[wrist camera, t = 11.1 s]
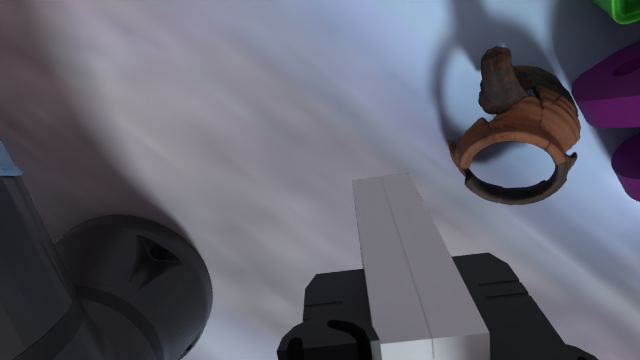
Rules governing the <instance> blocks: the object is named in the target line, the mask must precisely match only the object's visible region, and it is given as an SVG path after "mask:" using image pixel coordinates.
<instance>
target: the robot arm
mask: <svg viewBox="0 0 640 360" xmlns="http://www.w3.org/2000/svg"><path fill="white" fill-rule="evenodd" d="M22 175H23V173H22V170H21V168H20V167H18V166H15V164H14V162H13V161H12V159H11V157H10V156H9V154H8V152H7V150H6V149H5V147H4V145H3V143H2V142H1V140H0V360H180V359H182V358H183V357H184V356H185V355H186V354H187V353H188V352H189V351H190V350H191V349H192V348H193V347H194V346H195V344H196V343H197V341H198V340H199V338H200V337H201V335H202V333H203V331H204V328H205V326H206V323H207V321H208V318H209V315H210V312H211V308H212V300H213V293H212V285H211V280H210V277H209V274H208V271H207V269H206V267H205V265H204V263H203V261H202V260H201V258H200V257H199V255H198V254H197V253H196V251H195V250H194V249H193V248H192V247H191V246H190V245H189V244H188V243H187V242H186V241H185V240H184V239H183V238H182V237H180V236H179V235H178V234H176V233H175V232H173V231H172V230H170V229H168V228H166V227H165V226H163V225H160V224H158V223H156V222H153V221H150V220H147V219H144V218H140V217H134V216H126V215H112V216H104V217H99V218H95V219H92V220H89V221H86V222H84V223H82V224H80V225H78V226H77V227H75V228H73V229H72V230H71V231H69V232H68V233H67V234H66V235H65V236H64V237H63V238H61V239H60V240H59V241H58V242H57V243H56V244H55V245H54V244H53V242H52V240H51V238H50V236H49V234H48V232H47V230H46V227H45V225H44V223H43V221H42V219H41V217H40V215H39V213H38V211H37V209H36V207H35V205H34V203H33V201H32V199H31V197H30V195H29V193H28V191H27V188H26V186H25V184H24V182H23V180H22V178H21V176H22ZM352 185H353V193H354V201H355V209H356V217H357V225H358V233H359V241H360V249H361V257H362V265H363V269H357V270H349V271H340V272H331V273H323V274H316V275H315V277H314V278H313V279H312V281H311V282H310V283H309V285H308V286H307V287H306V289H305V299H304V311H303V323H301V324H299V325H297V326H295V327H293V328H292V329H291V330H290V331H289V332H288V333H287V334H286V335H285V336H284V337H283V338H282V340H281V342H280V345H279V347H278V349H277V355H278V360H598V359H597V358H596V357H595V356H593V355H591V354H589V353H587V352H585V351H583V350H581V349H579V348H577V347H575V346H571V345H567V344H565V343H564V342H563V340H562V339H561V338H560V336H559V335H558V333H557V332H556V331H555V329H554V328H553V326H552V325H551V324H550V322H549V321H548V319H547V318H546V317H545V315H544V314H543V312H542V311H541V310H540V308H539V307H538V305H537V304H536V303H535V301H534V300H533V298H532V297H531V296H529V294H528V291H527V290H526V289H525V287H524V286H523V284H522V283H520V282H519V279H518V277H517V276H516V275H515V273H514V272H513V270H512V269H511V268H510V266H509V265H508V264H507V263H505V262H504V261H502V260H500V259H499V258H497V257H495V256H494V255H492V254H490V253H481V254H472V255H463V256H454V257H451V255H450V253H449V251H448V249H447V247H446V246H445V244H444V242H443V240H442V238H441V236H440V234H439V232H438V230H437V228H436V226H435V224H434V222H433V220H432V218H431V216H430V214H429V212H428V210H427V208H426V206H425V204H424V202H423V200H422V198H421V196H420V194H419V192H418V190H417V188H416V186H415V184H414V182H413V180H412V178H411V176H410V174H409V173H406V174H398V175H390V176H382V177H374V178H366V179H358V180H352Z"/></svg>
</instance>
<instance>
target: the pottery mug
mask: <svg viewBox="0 0 640 360" xmlns="http://www.w3.org/2000/svg"><path fill="white" fill-rule="evenodd" d="M511 60H512V58H511V53H510V50H509V49H508V48H502V47H494V48H492V49H489V50H487V51H486V53H485V54H484V55H483V56H482V59H481V75H482V80H481V83H480V87H481V91H480V92H479V100H478V102H479V105H480V106H481V107H482V108H483V110H484V111H485V112H486V113H488V114H491V115H493V114H497V115H496V117H495V118H494V119H493V120H492V121H490V122H487V121H486V120H485V118H483V117H481V118H480V119H478V120H477V121H476V122H475V123H474V124H473V125H472V126H471V128H469V129H468V130H467V131H466V132H465V134H464V135H463V137H462V138H461V140H460V141H459V143H458V144H457V146H456V144H455V143H454V142H453V141H449V150H450V154H451V157H452V160H453V162H454V163H455V165H456V166H457V167H458V169H459V171H460V172H461V173H462V174H463V175H464V176H465V177H466V178H465V185H466V187H467V188H469V189H470V190H471V191H472V192H473V193H475V194H477V195H478V196H480V197H482V198H484V199H486V200H488V201H492V202H496V203H502V204H508V205H524V204H530V203H535V202H538V201H541V200H544V199H545V198H547V197H549V196H551V195H552V194H554V193H555V192H557V191H558V190H559V189H560V188H561V187H562V186H563V184H564V183H565V182H566V180H567V178H566V177H567V174H568V171H569V170H570V169H571V167H572V166H573V165H574V163H575V161H576V159H577V153H576V152H574V153H572V155H567V154H565V153H566V151H567V150H569V149H571V148H572V146H573V145H575V144H576V143H577V141H578V140H579V139H580V129H581V126H580V122H579V120H578V118H577V117H578V110H577V108H576V106H575V102H574V101H573V99H572V97H571V95H570V93H569V92H568V91H567V90H566V89H565V88H564V87H563V86H562V84H561V83H560V81H559V80H558V79H557V78H556V77H555V76H553V75H552V74H550V73H549V72H547V71H545V70H543V69H540V68H537V67H530V66H515V67H514V66H513V65H512V61H511ZM529 89H532V90H533V92H534V94H535V96H536V97H537V98H536V97H535V96H532V95H528V91H527V90H529ZM502 141H519V142H525V143H529V144H533V145H535V146H538V147H540V148H542V149H544V150H545V151H546V152H547V153H548V154H549V155H550V156H551V157H552V159H553V161H554V163H555V171H554V173H553V175H552V176H551V177H550V179H549V180H547V181H545V180H543V181H541V182H539V183H538V184H536V185H533V186H529V187H521V188H503V187H501V186H497V185H493V184H489V183H486V182H484V181H481V180H480V179H478V178H477V177H476V176H475V175H474V174H473V173H472V172H471V171H470V169H469V167H470V164H471V161H472V159H473V157H474V156H475V154H476V153H477V152H479V151H480V150H481V149H483V148H485V147H487V146H489V145H491V144H493V143H496V142H502Z"/></svg>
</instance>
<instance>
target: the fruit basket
mask: <svg viewBox="0 0 640 360" xmlns="http://www.w3.org/2000/svg"><path fill="white" fill-rule="evenodd" d="M592 1H593V2H594V3H595V4H596V5H598V6H599V7H600V8H602V9H603V10H605V11H606V12H608V13H609V15H610V17H611V18H612V19H613V20H614V21H615V22H617V23H618V24H623V25H624V24H629V23H633V22H636V21H639V20H640V0H592Z"/></svg>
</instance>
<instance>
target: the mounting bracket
mask: <svg viewBox="0 0 640 360" xmlns="http://www.w3.org/2000/svg"><path fill="white" fill-rule="evenodd" d="M571 93H572V96H573V98H574V100H575V101H576V103H577V105H578V107H579V109H580V110H581V112H582V114H583V116H584V118H585V119H586V121H587V123H588V124H590V125H592V126H594V127H598V128H626V127H640V41H639V42H637V43H634V44H632V45H629V46H627V47H625V48H623V49H620V50H618V51H617V52H615V53H614V54H612V55H610V56H609V57H607V58H606V59H604V60H603V61H601V62H600V63H598V64H597V65H595V66H593V67H592V68H590V69H589V70H587V71H586V72H584V73H583V74H582V75H581V76H580V77H579V78H578V79H577V80H576V82H575V83H574V85H573V87H572V90H571ZM611 165H612V168H613V170H614V172H615V174H616V175H617V177H618V179H619V181H620V183H621V184H622V186H623V188H624V190H625V192H626V193H627V195H628V196H630V197H631V198H632V199H634V200H636V201H639V202H640V133H638V134H637V135H635V136H633V137H632V138H630V139H628V140H627V141H625V142H624V143H622V144H621V145H620V146H619V147H618V148H617V150H616V151H615V153H614V154H613V156H612V160H611Z"/></svg>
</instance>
